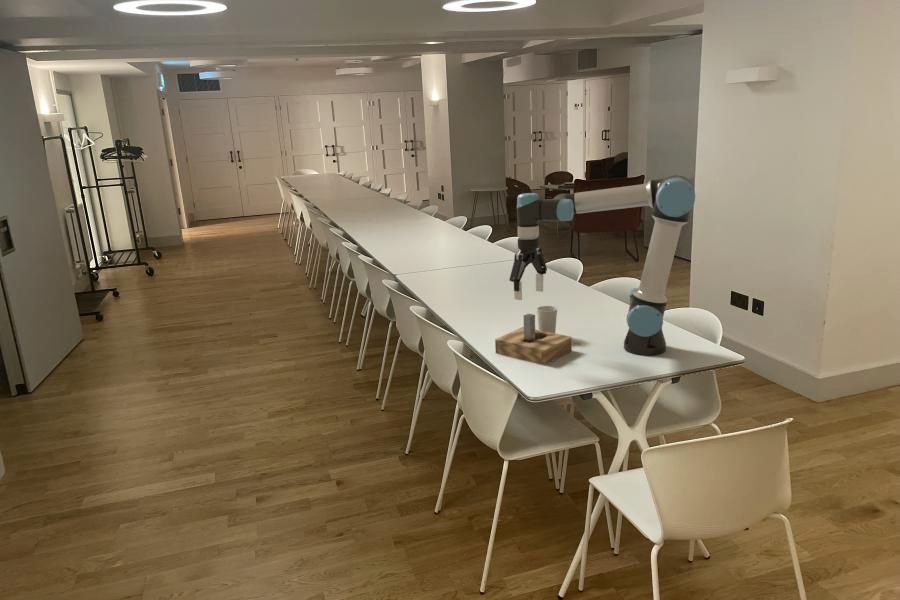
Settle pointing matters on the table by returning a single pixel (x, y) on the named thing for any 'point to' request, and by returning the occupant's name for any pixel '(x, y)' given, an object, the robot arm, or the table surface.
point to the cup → (547, 318)
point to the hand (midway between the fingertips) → (529, 295)
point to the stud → (529, 328)
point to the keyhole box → (534, 346)
